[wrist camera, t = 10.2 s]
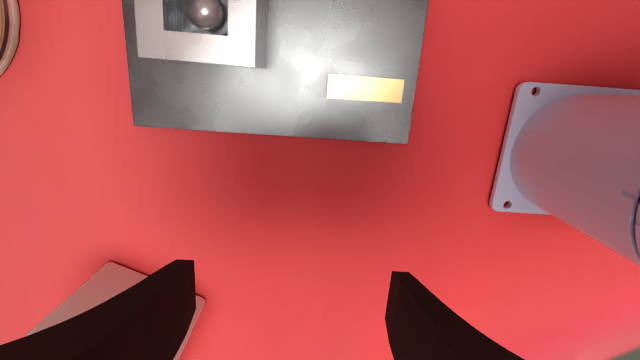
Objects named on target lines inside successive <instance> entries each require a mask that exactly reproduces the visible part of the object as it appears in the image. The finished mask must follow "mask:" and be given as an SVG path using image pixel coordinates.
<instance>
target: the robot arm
mask: <svg viewBox="0 0 640 360" xmlns="http://www.w3.org/2000/svg"><path fill="white" fill-rule="evenodd" d="M534 87H535V88H536V93H535V94H534V95H532V94H531V91H532V89H533V88H534ZM506 201H508V204H507V205H506V206H504V207H503V205H504V203H505V202H506ZM489 205H490V207H491V208H492V209H493V210H495V211H498V212H514V213H530V214H547V215H553V216H554V217H556V218H558V219H560V220H561V221H563V222H565V223H566V224H568V225H570V226H571V227H573V228H575V229H577V230H578V231H580V232H582V233H583V234H585V235H587V236H588V237H590V238H592V239H594V240H595V241H597V242H599V243H600V244H602V245H604V246H606V247H607V248H609V249H611V250H612V251H614V252H616V253H617V254H619V255H621V256H623V257H624V258H626V259H628V260H629V261H631V262H633V263H634V264H636V265H638V266H640V90H635V89H622V88H608V87H594V86H581V85H567V84H553V83H540V82H522V83H520V84H519V85H518V86H517V88H516V90H515V94H514V99H513V103H512V107H511V111H510V116H509V120H508V124H507V129H506V133H505V137H504V142H503V146H502V150H501V154H500V159H499V163H498V167H497V172H496V176H495V180H494V184H493V189H492V193H491V197H490V202H489ZM195 310H196V293H195V272H194V260H178V259H177V260H175V261H173V262H171V263H169V264H168V265H166V266H164V267H163V268H161V269H159V270H158V271H156V272H155V273H153V274H151V275H150V276H148V277H146V278H145V279H143V280H142V281H140V282H138V283H137V284H135V285H133V286H132V287H130V288H128V289H126V290H125V291H123V292H121V293H119V294H117V295H116V296H114V297H112V298H110V299H108V300H107V301H105V302H103V303H101V304H99V305H97V306H95V307H93V308H91V309H89V310H87V311H85V312H83V313H81V314H79V315H77V316H74V317H72V318H70V319H68V320H66V321H63V322H61V323H59V324H56V325H53V326H51V327H48V328H46V329H43V330H41V331H38V332H36V333H33V334H31V335H28V336H26V337H23V338H20V339H17V340H15V341H12V342H9V343H6V344H3V345H0V360H173V359H174V357H175V356H176V354H177V352H178V350H179V348H180V346H181V344H182V342H183V340H184V338H185V336H186V334H187V332H188V329H189V327H190V324H191V322H192V319H193V316H194V313H195ZM385 321H386V327H387V333H388V338H389V344H390V347H391V351H392V354H393V357H394V360H524V359H523V358H521V357H519V356H517V355H516V354H514V353H512V352H510V351H509V350H507V349H505V348H504V347H502V346H501V345H499V344H497V343H496V342H494V341H493V340H491V339H490V338H488V337H487V336H485V335H484V334H482V333H481V332H479V331H478V330H477V329H475V328H474V327H473V326H471V325H470V324H469V323H467V322H466V321H465V320H463V319H462V318H461V317H460V316H458V315H457V314H456V313H454V312H453V311H452V310H451V309H450V308H448V307H447V306H446V305H445V304H444V303H443V302H441V301H440V300H439V299H438V298H437V297H436V296H435V295H434V294H432V293H431V292H430V291H429V290H428V289H427V288H426V287H425V286H424V285H423V284H421V283H420V282H419V281H418V280H417V279H416V278H415V277H414V276H412V275H411V274H410V273H409V272H395V271H392V275H391V282H390V288H389V295H388V301H387V308H386V315H385Z"/></svg>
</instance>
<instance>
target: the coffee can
mask: <svg viewBox="0 0 640 360" xmlns="http://www.w3.org/2000/svg"><path fill="white" fill-rule="evenodd" d="M19 28H20V14H19V7H18V2H17V0H0V76H1V75H2V74H3V72H4V71H5V70H6V68H7V67H8V66H9V64H10V62H11V60H12V58H13V56H14V54H15V51H16V48H17V46H18V41H19Z"/></svg>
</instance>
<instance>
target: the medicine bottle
mask: <svg viewBox="0 0 640 360" xmlns="http://www.w3.org/2000/svg"><path fill="white" fill-rule="evenodd" d="M146 277H148V276H146V275H144V274H141V273H139V272H136V271H133V270H131V269H128V268H126V267H123V266H121V265H118V264H116V263H113V262H109V263H106V264H105V265H104V266H103V267H102V268H101V269H99V270H98V271H97V272H96V273H95V274H94V275H93V276H92V277H90V278H89V279H88V280H87V281H86V282H85V283H84V284H83V285H81V286H80V287H79V288H78V289H77V290H76V291H75V292H73V293H72V294H71V295H70V296H69V297H68V298H67V299H66V300H64V301H63V302H62V303H61V304H60V305H59V306H58V307H57V308H55V309H54V310H53V311H52V312H51V313H50V314H49V315H48V316H46V317H45V318H44V319H43V320H42V321H41V322H40V323H39V324H37V325H36V326H35V327H34V328H33V329H32V330H31V331H30V332H28V333H27V335H26V336H28V335H31V334H33V333H36V332H38V331H41V330H43V329H46V328H48V327H51V326H53V325H56V324H59V323H61V322H63V321H66V320H68V319H70V318H72V317H74V316H77V315H79V314H81V313H83V312H85V311H87V310H89V309H91V308H93V307H95V306H97V305H99V304H101V303H103V302H105V301H107V300H108V299H110V298H112V297H114V296H116V295H117V294H119V293H121V292H123V291H125V290H126V289H128V288H130V287H132V286H133V285H135V284H137V283H138V282H140V281H142V280H143V279H145V278H146ZM204 304H205V300H204V298H202V297H200V296H197V295H196V310H195V313H194V316H193V319H192V322H191V324H190V327H189V329H188V332H187V334H186V336H185V338H184V340H183V342H182V344H181V346H180V348H179V350H178V352H177V354H176V356H175V357H174V359H173V360H179V358H180V356H181V354H182V352H183V350H184V348H185V345H186V343H187V341H188V339H189V337H190V335H191V333H192V330H193V328H194V326H195V324H196V322H197V320H198V317H199V315H200V313H201V311H202V309H203V307H204ZM26 336H25V337H26Z"/></svg>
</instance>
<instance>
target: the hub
mask: <svg viewBox="0 0 640 360" xmlns="http://www.w3.org/2000/svg"><path fill="white" fill-rule="evenodd" d="M184 3H185V0H134V7H135V21H136V34H137V48H138V57H144V58H153V59H162V60H171V61H182V62H194V63H205V64H217V65H228V66H240V67H252V68H263V69H266V46H267V16H268V0H228V36H222V35H211V34H200V33H192V23H191V22H190V21H189V20H188V19H187V17H186V14H185V11H184Z"/></svg>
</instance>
